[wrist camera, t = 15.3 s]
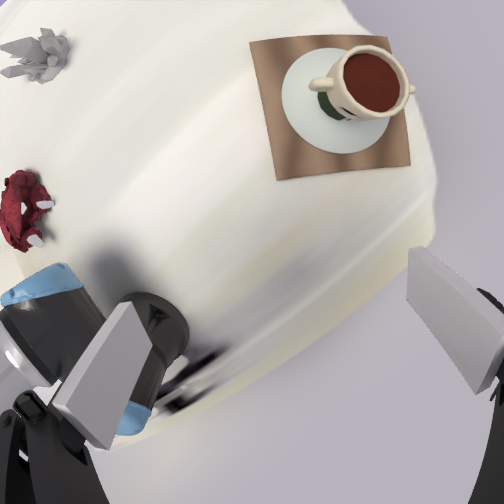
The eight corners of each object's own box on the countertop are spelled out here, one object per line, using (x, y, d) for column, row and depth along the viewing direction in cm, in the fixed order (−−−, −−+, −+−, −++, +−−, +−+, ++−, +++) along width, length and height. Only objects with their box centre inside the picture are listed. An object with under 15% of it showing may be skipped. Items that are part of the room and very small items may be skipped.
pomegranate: (17, 172, 39) (-5, 163, 30) (65, 179, 42) (46, 169, 34) (3, 244, 39) (-20, 245, 30) (50, 257, 42) (28, 260, 34)
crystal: (28, 54, 28) (-24, 48, 14) (75, 24, 27) (21, 4, 13) (26, 96, 32) (-31, 97, 18) (73, 68, 31) (12, 57, 17)
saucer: (292, 159, 35) (293, 159, 34) (271, 54, 29) (271, 52, 28) (394, 149, 33) (397, 149, 32) (376, 50, 27) (378, 48, 27)
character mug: (301, 125, 32) (320, 117, 20) (295, 73, 29) (309, 40, 17) (380, 125, 31) (431, 122, 19) (374, 76, 28) (421, 53, 16)
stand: (276, 179, 37) (276, 180, 36) (249, 45, 30) (249, 42, 29) (406, 164, 35) (410, 165, 34) (383, 39, 28) (387, 36, 26)
